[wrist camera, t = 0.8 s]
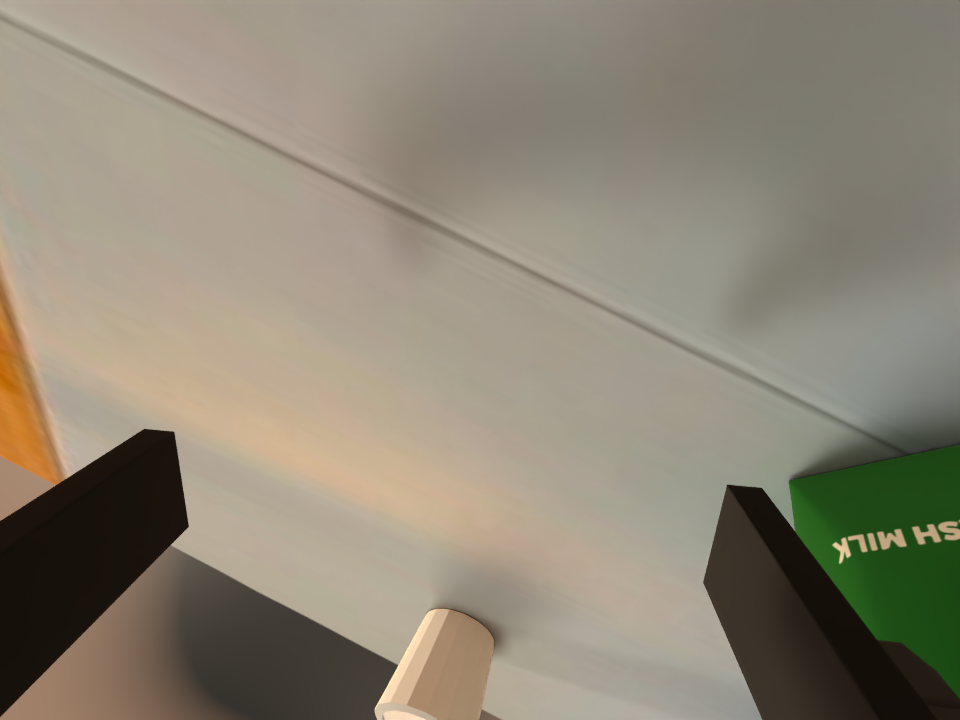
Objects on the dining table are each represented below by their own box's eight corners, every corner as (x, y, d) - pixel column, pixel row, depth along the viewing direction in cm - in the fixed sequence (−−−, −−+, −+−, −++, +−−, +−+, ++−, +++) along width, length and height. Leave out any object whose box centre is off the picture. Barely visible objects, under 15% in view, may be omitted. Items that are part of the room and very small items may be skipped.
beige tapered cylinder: (520, 644, 37) (491, 755, 32) (473, 667, 41) (440, 768, 36) (442, 591, 37) (398, 695, 31) (402, 620, 41) (358, 715, 35)
